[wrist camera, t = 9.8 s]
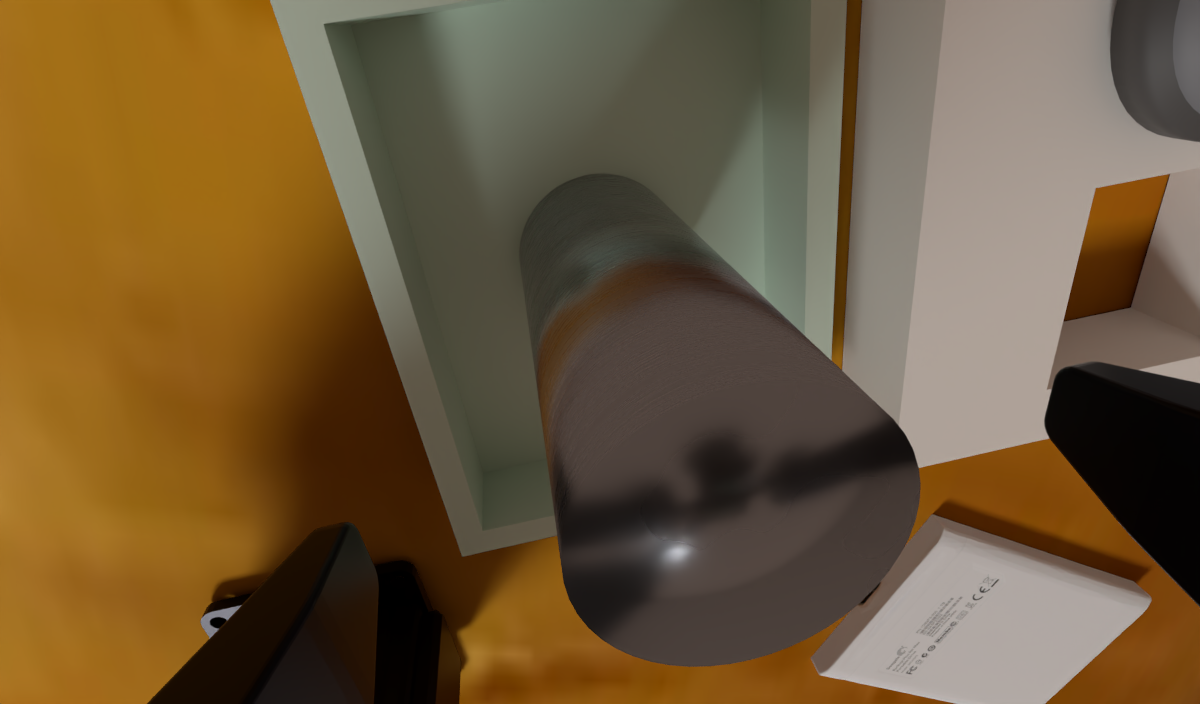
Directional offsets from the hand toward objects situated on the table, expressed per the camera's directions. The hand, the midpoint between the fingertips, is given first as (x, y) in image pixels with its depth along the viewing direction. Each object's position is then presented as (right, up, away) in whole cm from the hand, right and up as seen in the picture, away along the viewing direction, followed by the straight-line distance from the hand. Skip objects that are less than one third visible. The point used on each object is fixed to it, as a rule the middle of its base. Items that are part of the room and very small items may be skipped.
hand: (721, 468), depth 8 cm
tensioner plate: (+11, +7, +9) cm, 16 cm away
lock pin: (-1, +4, +8) cm, 9 cm away
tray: (-2, +4, +8) cm, 9 cm away
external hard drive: (+14, -10, +19) cm, 26 cm away
